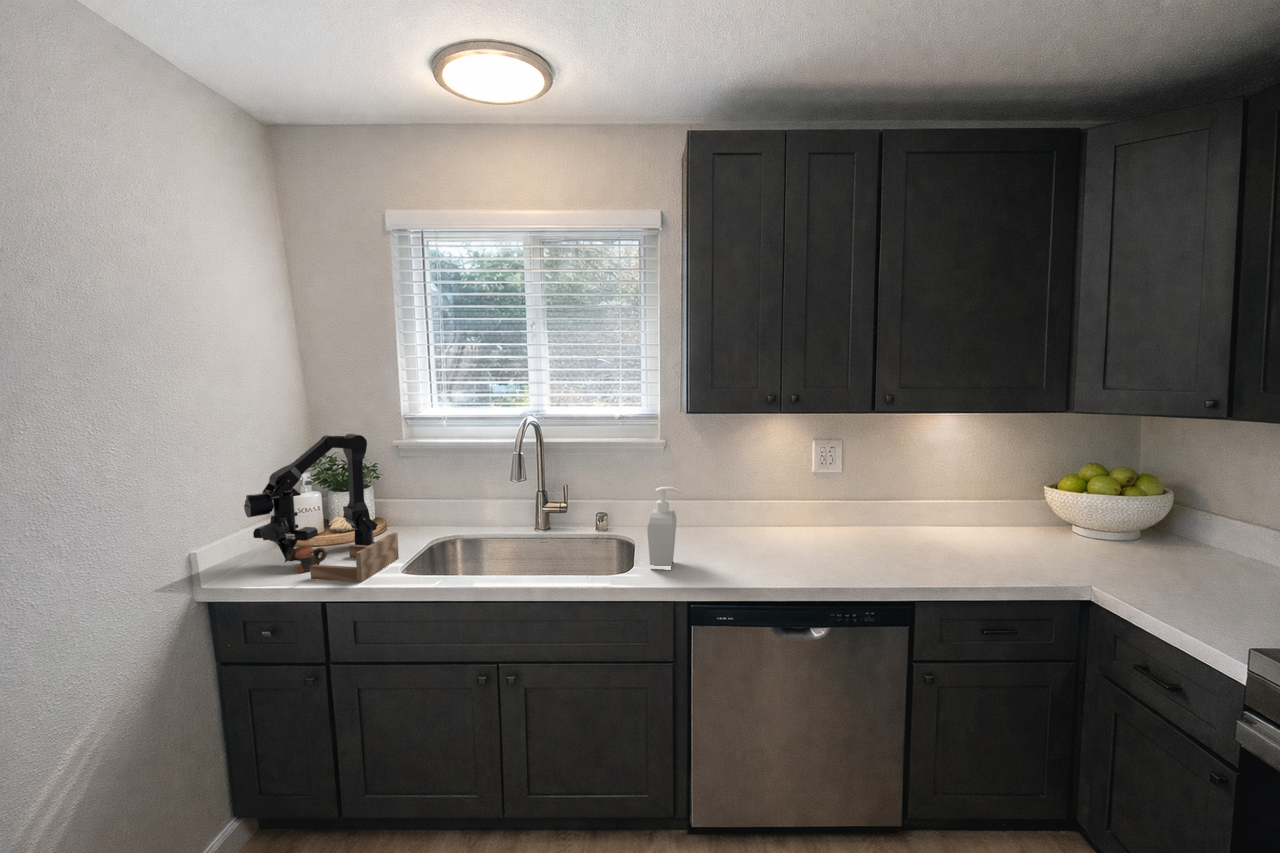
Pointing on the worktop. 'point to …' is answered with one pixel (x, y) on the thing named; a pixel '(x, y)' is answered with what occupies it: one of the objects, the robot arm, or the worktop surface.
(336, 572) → the walnut bay
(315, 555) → the pottery mug
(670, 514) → the soap bottle
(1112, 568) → the worktop surface
